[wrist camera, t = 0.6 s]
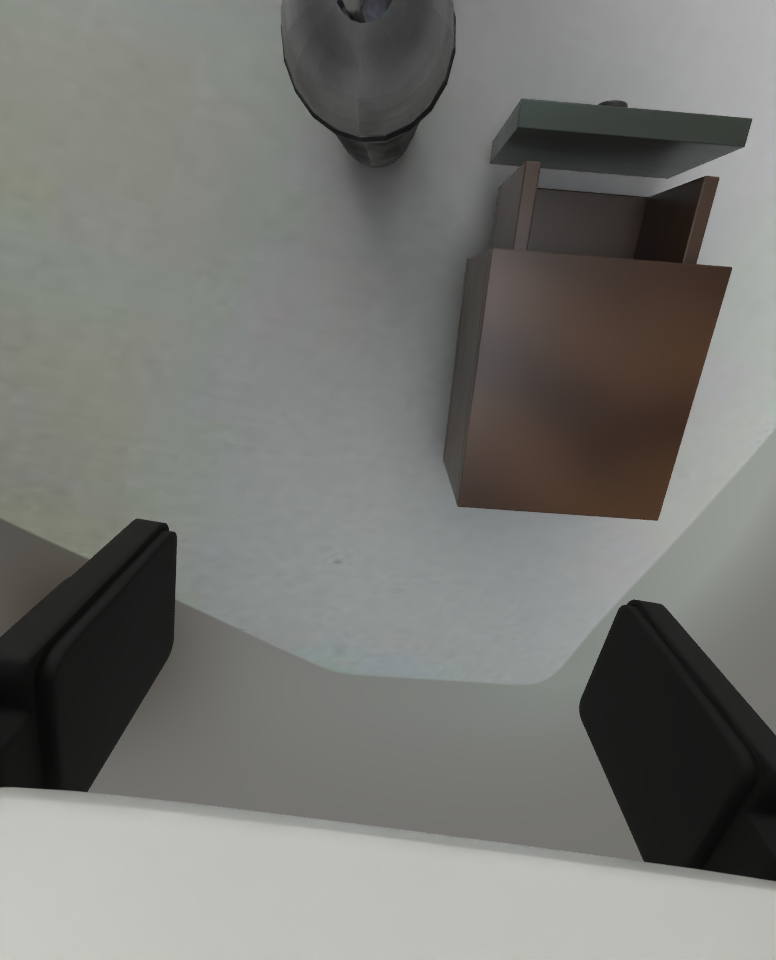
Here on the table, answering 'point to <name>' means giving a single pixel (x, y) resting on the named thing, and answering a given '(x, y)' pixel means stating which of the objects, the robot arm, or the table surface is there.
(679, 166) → the drawer
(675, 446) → the cabinet
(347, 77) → the beverage cup
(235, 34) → the table surface
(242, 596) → the table surface
